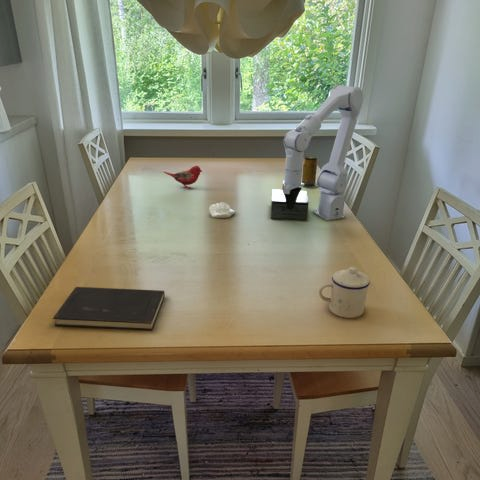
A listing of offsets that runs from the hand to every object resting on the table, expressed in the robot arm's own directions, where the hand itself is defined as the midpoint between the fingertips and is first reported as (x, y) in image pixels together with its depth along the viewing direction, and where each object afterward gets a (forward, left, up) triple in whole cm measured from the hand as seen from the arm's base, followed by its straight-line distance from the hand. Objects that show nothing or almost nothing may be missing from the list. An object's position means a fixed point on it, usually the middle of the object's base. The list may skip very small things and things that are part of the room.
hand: (290, 208), depth 167 cm
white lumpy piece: (+20, +18, -6) cm, 27 cm away
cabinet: (+12, -6, -6) cm, 15 cm away
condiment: (+41, -33, -6) cm, 53 cm away
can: (+24, -13, -6) cm, 28 cm away
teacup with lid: (-56, +17, -6) cm, 59 cm away
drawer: (+9, -5, -6) cm, 11 cm away
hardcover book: (-35, +70, -6) cm, 78 cm away
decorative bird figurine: (+56, +21, -6) cm, 60 cm away
